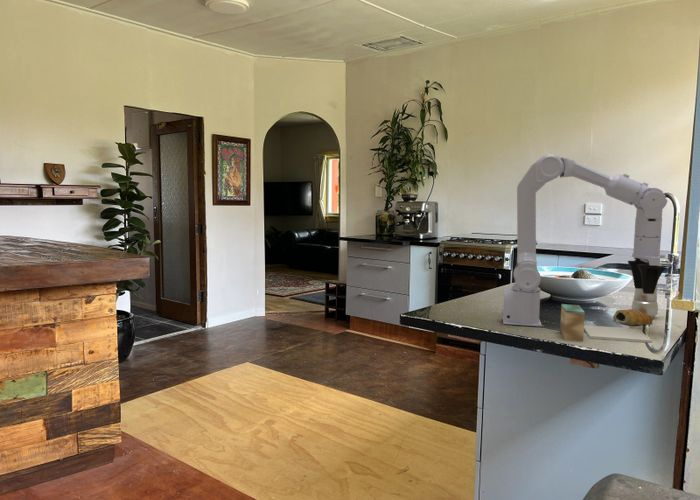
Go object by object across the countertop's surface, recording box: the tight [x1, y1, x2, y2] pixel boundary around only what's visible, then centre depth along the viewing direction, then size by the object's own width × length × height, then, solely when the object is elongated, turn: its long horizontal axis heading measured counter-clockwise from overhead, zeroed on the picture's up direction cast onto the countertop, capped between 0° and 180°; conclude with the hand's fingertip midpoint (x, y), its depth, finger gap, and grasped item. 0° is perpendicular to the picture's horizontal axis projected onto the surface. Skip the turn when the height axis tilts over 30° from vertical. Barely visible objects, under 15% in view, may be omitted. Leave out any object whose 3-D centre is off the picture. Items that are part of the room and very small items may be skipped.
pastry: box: [612, 308, 653, 326], centre depth 139 cm, size 9×7×4 cm
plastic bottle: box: [631, 263, 662, 318], centre depth 144 cm, size 6×7×20 cm
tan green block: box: [559, 303, 586, 342], centre depth 124 cm, size 4×8×7 cm, turn 165°
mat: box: [584, 324, 652, 344], centre depth 126 cm, size 13×11×1 cm
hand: (643, 290), depth 129 cm, fingers open, 7 cm apart
